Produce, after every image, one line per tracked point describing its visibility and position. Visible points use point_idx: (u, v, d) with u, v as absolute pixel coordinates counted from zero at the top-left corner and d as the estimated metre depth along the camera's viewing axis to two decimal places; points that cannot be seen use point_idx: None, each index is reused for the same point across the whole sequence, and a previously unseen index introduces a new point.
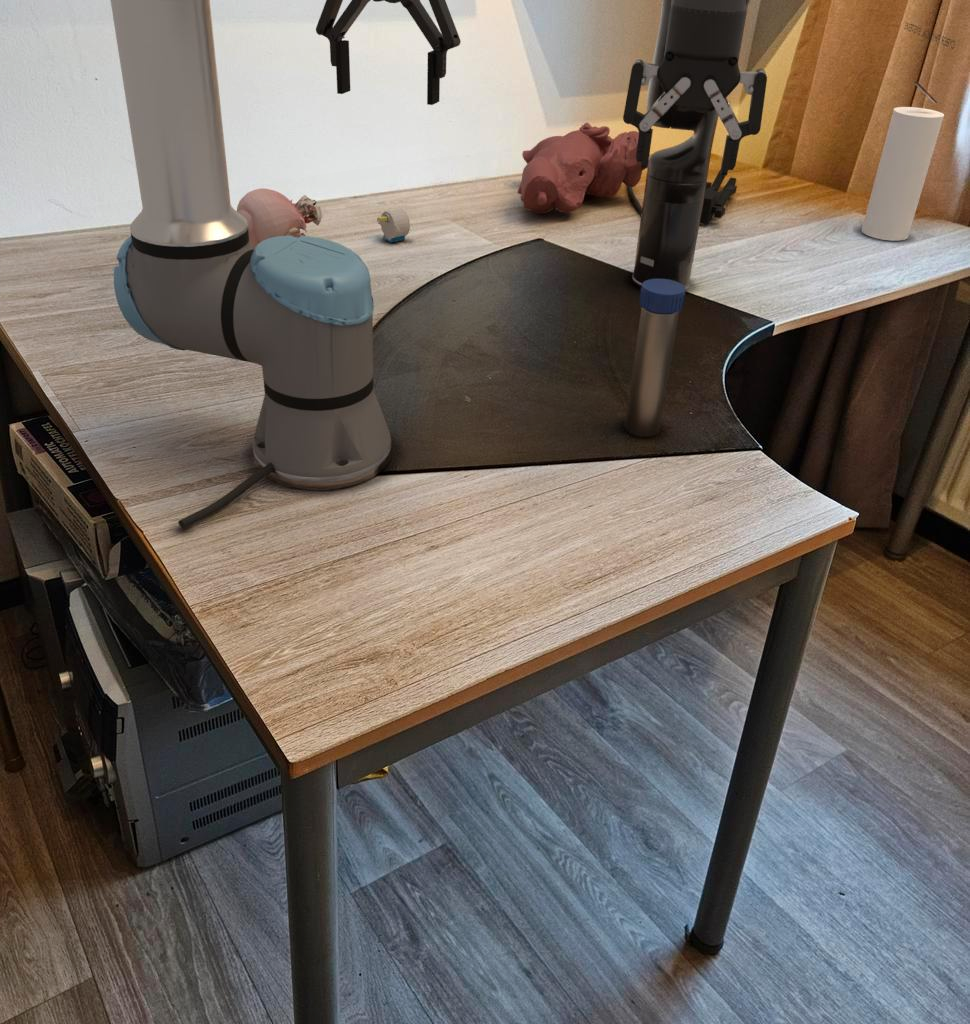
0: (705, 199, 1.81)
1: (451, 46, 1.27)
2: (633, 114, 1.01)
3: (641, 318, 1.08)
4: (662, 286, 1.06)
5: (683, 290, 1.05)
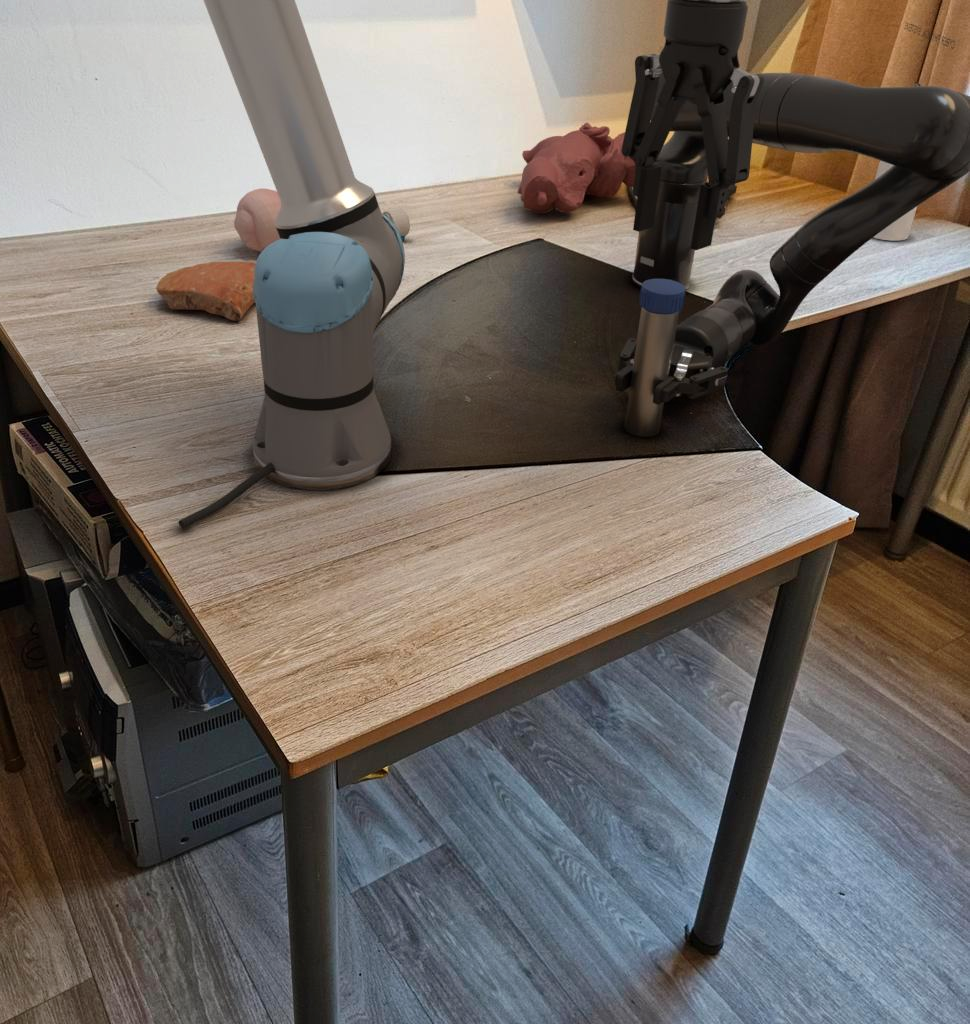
0: None
1: None
2: None
3: (641, 318, 1.08)
4: (662, 286, 1.06)
5: (683, 290, 1.05)
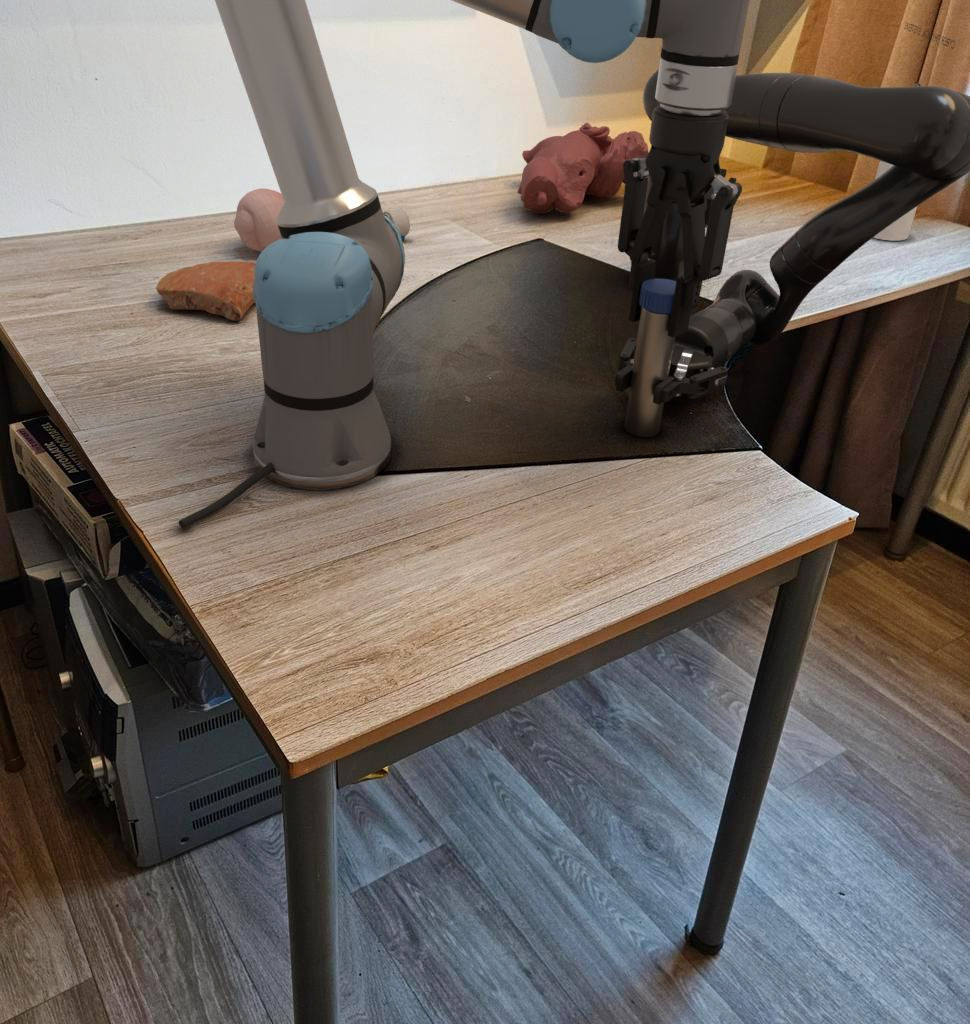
0: None
1: None
2: None
3: (641, 318, 1.08)
4: (662, 286, 1.06)
5: None
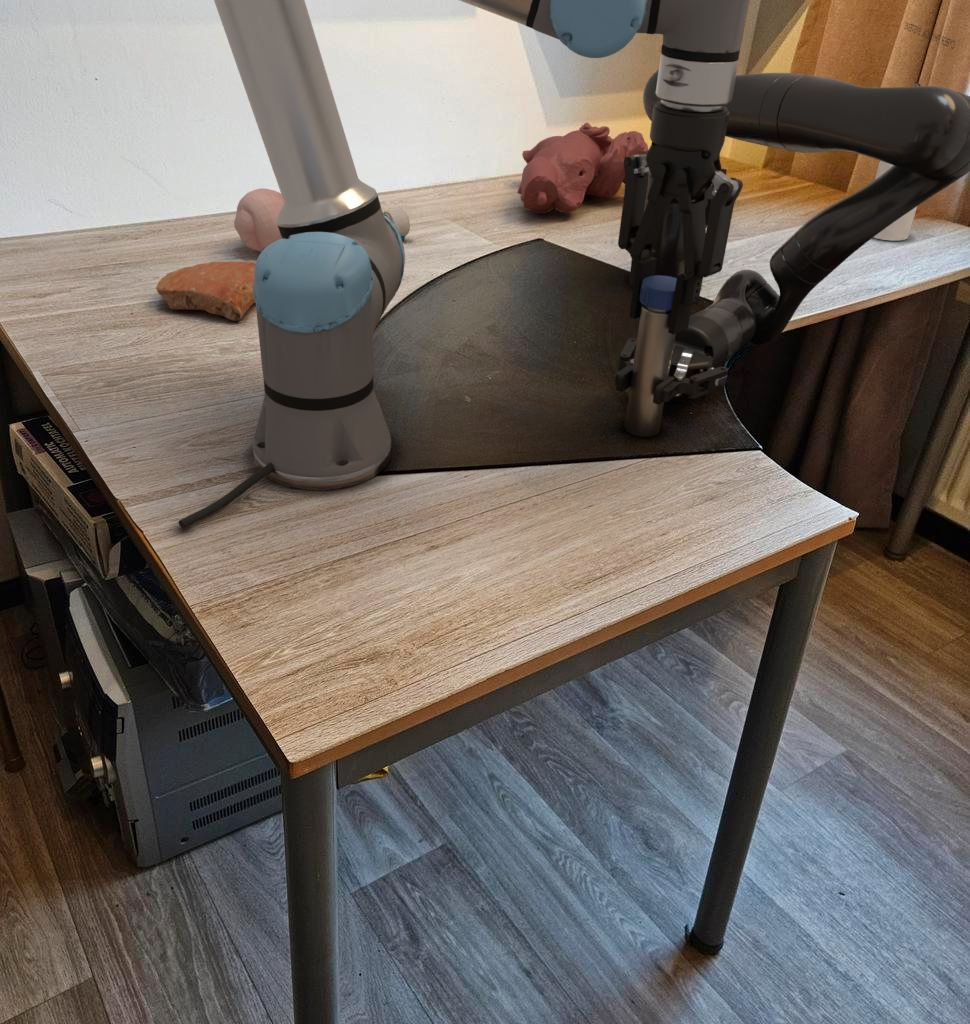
0: None
1: None
2: None
3: (641, 318, 1.08)
4: (665, 283, 1.06)
5: None
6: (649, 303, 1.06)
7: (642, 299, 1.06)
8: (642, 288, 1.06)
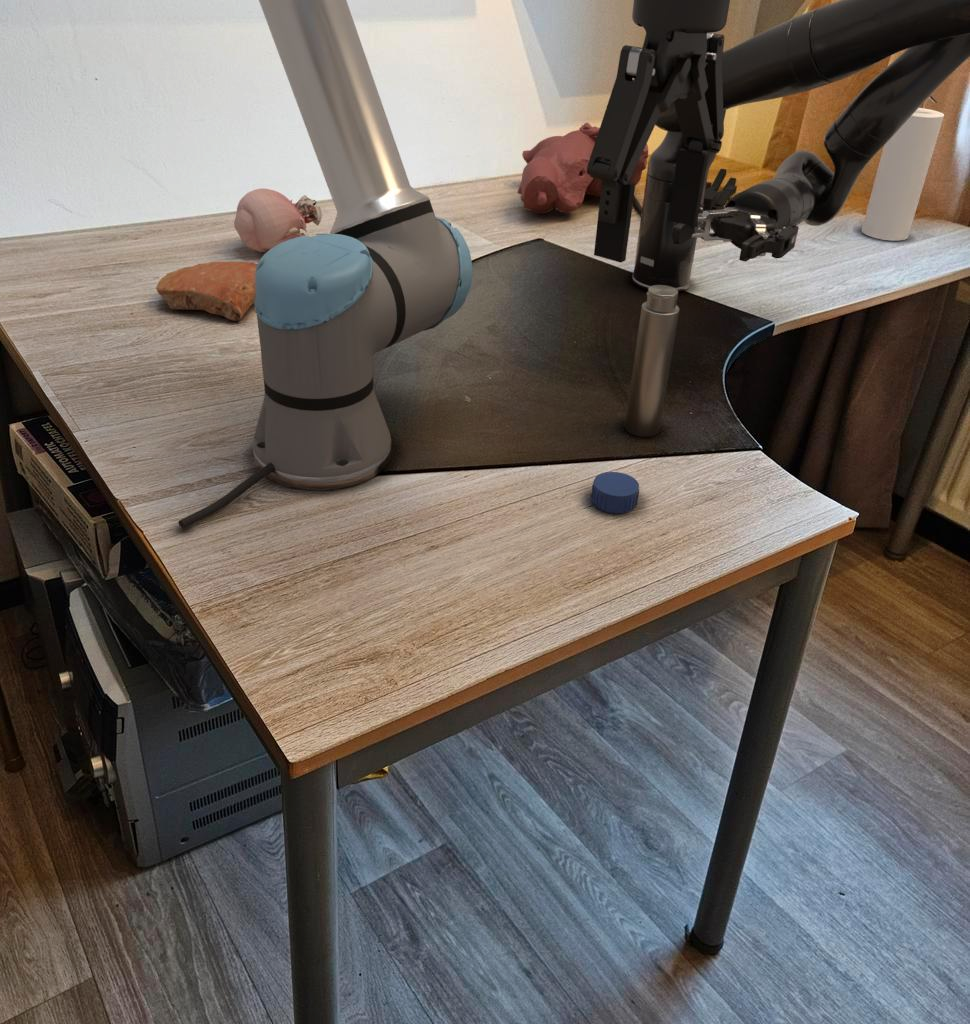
0: (705, 199, 1.81)
1: None
2: None
3: (641, 318, 1.08)
4: (617, 482, 1.02)
5: (596, 484, 1.01)
6: (632, 505, 1.02)
7: (625, 509, 1.01)
8: (624, 500, 1.00)
